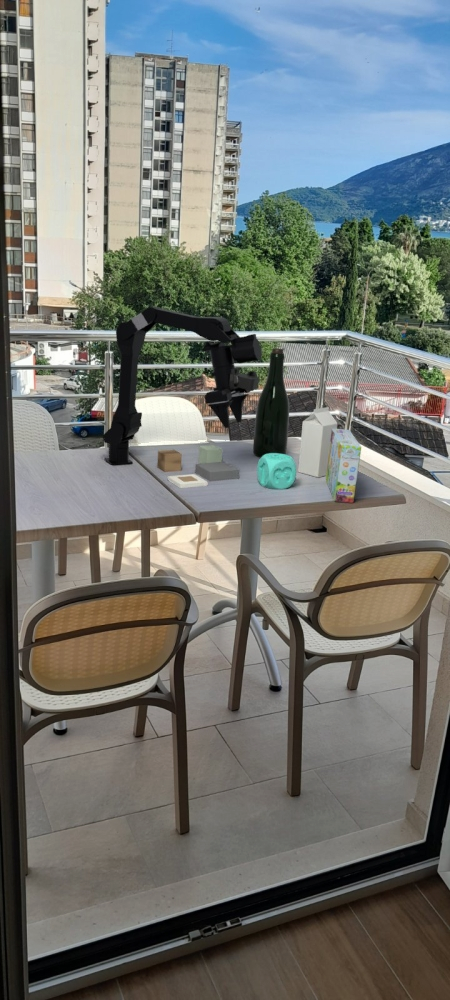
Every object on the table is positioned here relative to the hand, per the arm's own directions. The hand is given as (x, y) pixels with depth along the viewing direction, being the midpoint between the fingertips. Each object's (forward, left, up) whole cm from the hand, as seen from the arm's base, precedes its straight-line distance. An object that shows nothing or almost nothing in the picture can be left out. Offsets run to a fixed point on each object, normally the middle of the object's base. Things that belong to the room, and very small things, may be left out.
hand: (233, 424), depth 200 cm
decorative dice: (+8, +10, -16) cm, 20 cm away
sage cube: (-17, +3, -16) cm, 23 cm away
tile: (-1, -12, -15) cm, 20 cm away
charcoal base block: (-5, -1, -16) cm, 17 cm away
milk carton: (+1, +28, -16) cm, 32 cm away
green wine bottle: (-21, +26, -16) cm, 37 cm away
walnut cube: (-15, -11, -16) cm, 25 cm away
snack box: (+18, +24, -16) cm, 34 cm away
